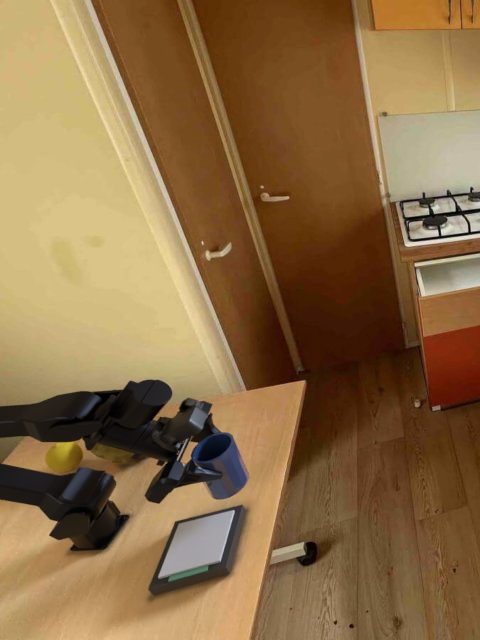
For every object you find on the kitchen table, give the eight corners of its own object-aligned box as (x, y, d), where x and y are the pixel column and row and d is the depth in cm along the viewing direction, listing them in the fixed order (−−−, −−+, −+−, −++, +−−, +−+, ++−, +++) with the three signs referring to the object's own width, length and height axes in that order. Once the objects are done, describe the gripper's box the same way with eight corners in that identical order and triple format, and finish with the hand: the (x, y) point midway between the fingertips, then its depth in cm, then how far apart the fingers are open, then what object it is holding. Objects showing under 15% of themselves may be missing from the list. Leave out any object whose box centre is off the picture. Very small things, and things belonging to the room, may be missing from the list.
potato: (125, 480, 93) (109, 456, 89) (91, 459, 98) (75, 436, 94) (165, 450, 100) (151, 426, 96) (132, 432, 104) (118, 409, 101)
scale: (230, 574, 77) (225, 565, 76) (153, 596, 74) (146, 587, 73) (246, 511, 87) (242, 502, 86) (179, 528, 84) (174, 519, 83)
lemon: (86, 453, 99) (70, 429, 95) (91, 466, 96) (75, 443, 92) (54, 469, 95) (36, 445, 92) (58, 484, 92) (39, 460, 88)
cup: (212, 507, 82) (193, 470, 77) (206, 481, 87) (188, 445, 82) (252, 485, 86) (237, 449, 81) (244, 461, 91) (229, 426, 86)
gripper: (139, 449, 67) (238, 477, 74) (185, 370, 82) (262, 399, 90) (101, 493, 68) (201, 515, 76) (153, 407, 84) (231, 432, 92)
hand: (227, 460), depth 84 cm, fingers closed on cup, 7 cm apart
